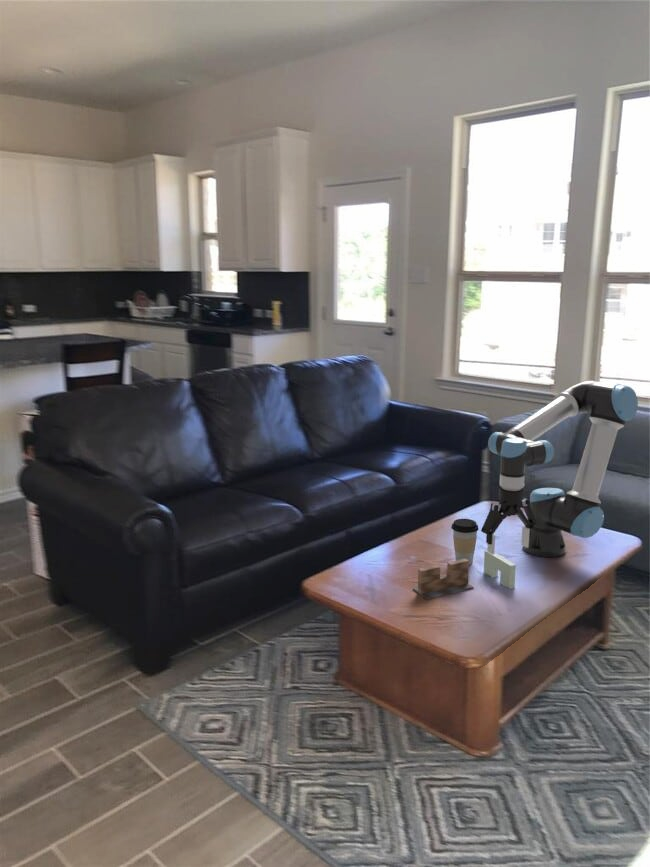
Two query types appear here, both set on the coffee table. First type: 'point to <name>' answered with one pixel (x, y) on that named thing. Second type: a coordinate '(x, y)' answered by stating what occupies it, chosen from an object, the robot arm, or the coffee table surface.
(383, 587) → the coffee table surface
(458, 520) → the coffee cup
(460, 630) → the coffee table surface
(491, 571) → the pale green upright panel
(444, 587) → the brown piece
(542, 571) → the coffee table surface
